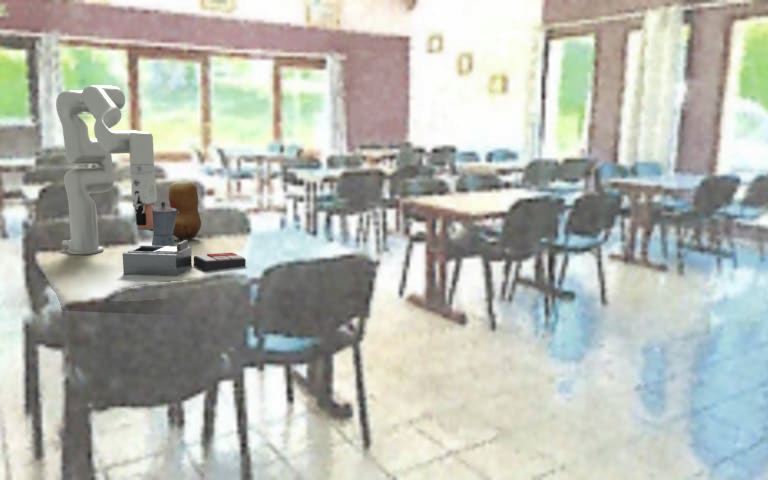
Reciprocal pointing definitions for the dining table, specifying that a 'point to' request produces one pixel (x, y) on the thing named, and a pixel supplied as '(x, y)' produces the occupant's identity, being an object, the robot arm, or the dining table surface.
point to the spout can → (147, 218)
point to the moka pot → (163, 225)
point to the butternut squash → (185, 209)
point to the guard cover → (175, 247)
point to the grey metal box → (155, 261)
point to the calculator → (218, 261)
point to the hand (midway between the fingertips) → (145, 223)
